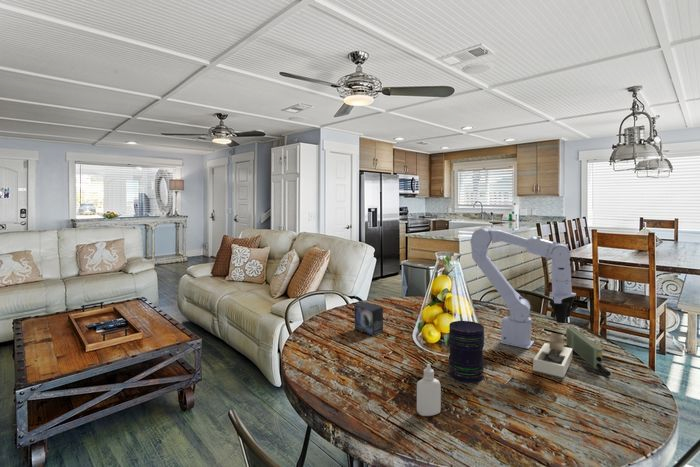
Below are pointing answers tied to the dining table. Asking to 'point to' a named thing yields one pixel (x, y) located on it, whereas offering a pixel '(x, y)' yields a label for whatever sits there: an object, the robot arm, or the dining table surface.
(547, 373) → the white hollow rectangular frame
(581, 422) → the dining table surface
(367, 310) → the small box
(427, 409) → the eye dropper bottle
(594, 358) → the handheld radio
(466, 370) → the storage jar
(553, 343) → the keyhole peg
